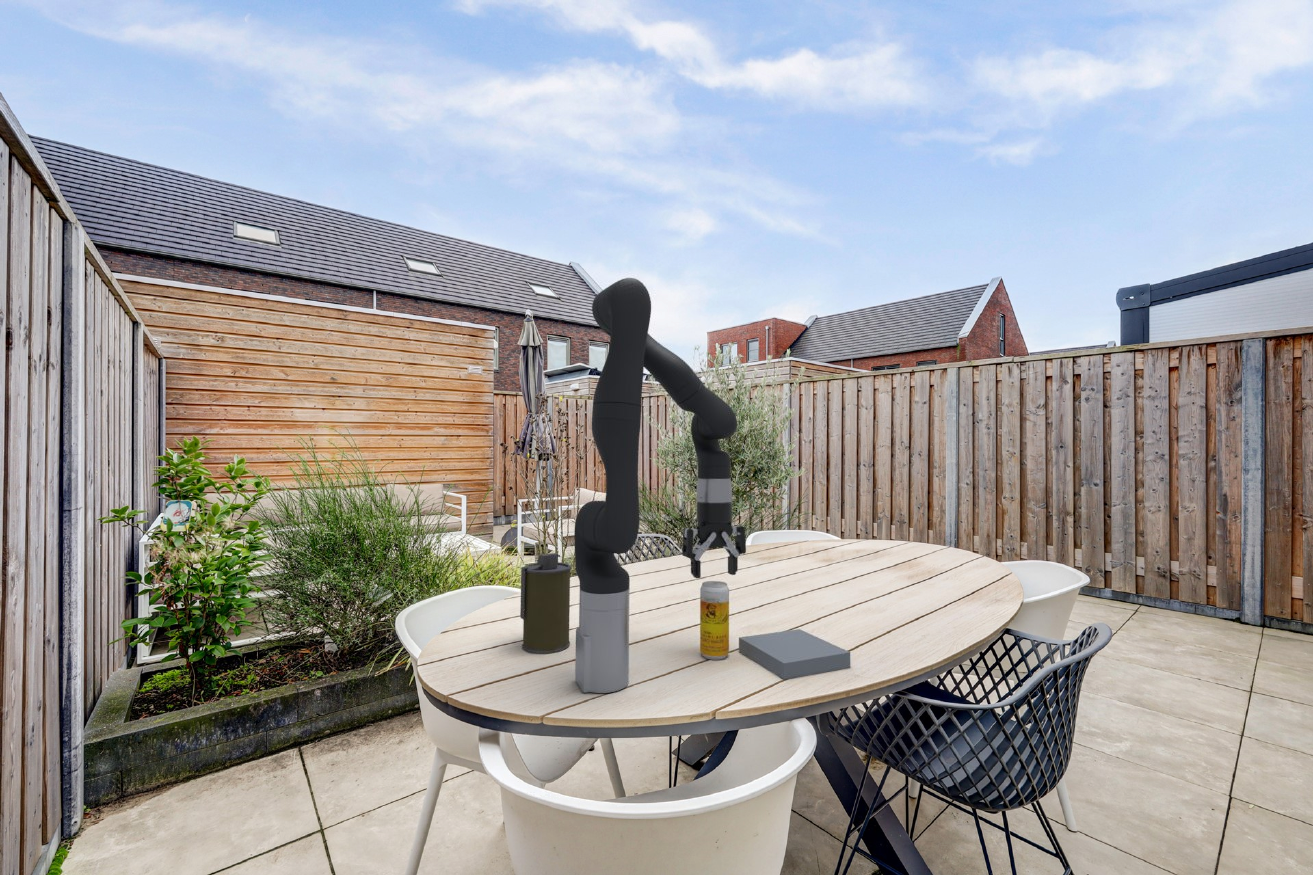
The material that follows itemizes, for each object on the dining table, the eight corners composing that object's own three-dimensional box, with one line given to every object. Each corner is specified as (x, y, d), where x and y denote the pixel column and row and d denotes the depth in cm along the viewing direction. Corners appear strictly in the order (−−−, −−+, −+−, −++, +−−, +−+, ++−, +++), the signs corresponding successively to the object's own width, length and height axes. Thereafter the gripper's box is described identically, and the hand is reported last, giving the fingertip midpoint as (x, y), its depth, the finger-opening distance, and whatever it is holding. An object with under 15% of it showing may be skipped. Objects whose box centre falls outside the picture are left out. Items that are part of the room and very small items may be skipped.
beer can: (697, 659, 110) (698, 585, 111) (702, 649, 116) (702, 579, 116) (727, 661, 108) (727, 587, 109) (730, 651, 114) (730, 581, 115)
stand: (784, 679, 100) (784, 663, 100) (738, 651, 114) (738, 637, 115) (850, 667, 106) (850, 652, 106) (799, 642, 121) (799, 628, 121)
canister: (559, 635, 124) (560, 549, 125) (577, 648, 116) (579, 555, 117) (513, 643, 119) (515, 553, 120) (529, 657, 110) (531, 560, 111)
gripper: (692, 502, 107) (692, 582, 107) (752, 499, 113) (752, 576, 112) (676, 499, 114) (676, 575, 114) (733, 497, 120) (734, 569, 119)
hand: (714, 575), depth 113 cm, fingers open, 8 cm apart
